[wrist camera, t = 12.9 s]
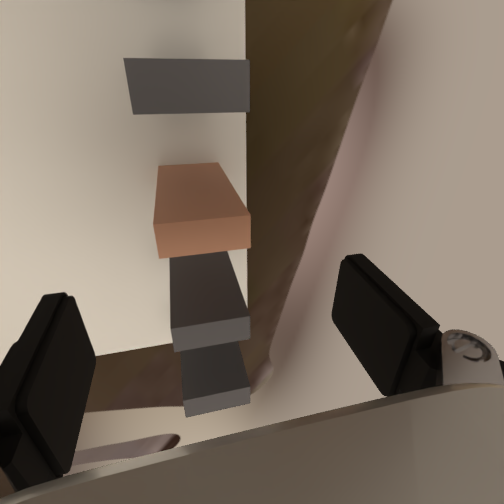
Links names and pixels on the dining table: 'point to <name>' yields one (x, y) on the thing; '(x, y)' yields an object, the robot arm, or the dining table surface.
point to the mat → (101, 158)
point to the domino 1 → (188, 85)
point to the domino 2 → (198, 211)
